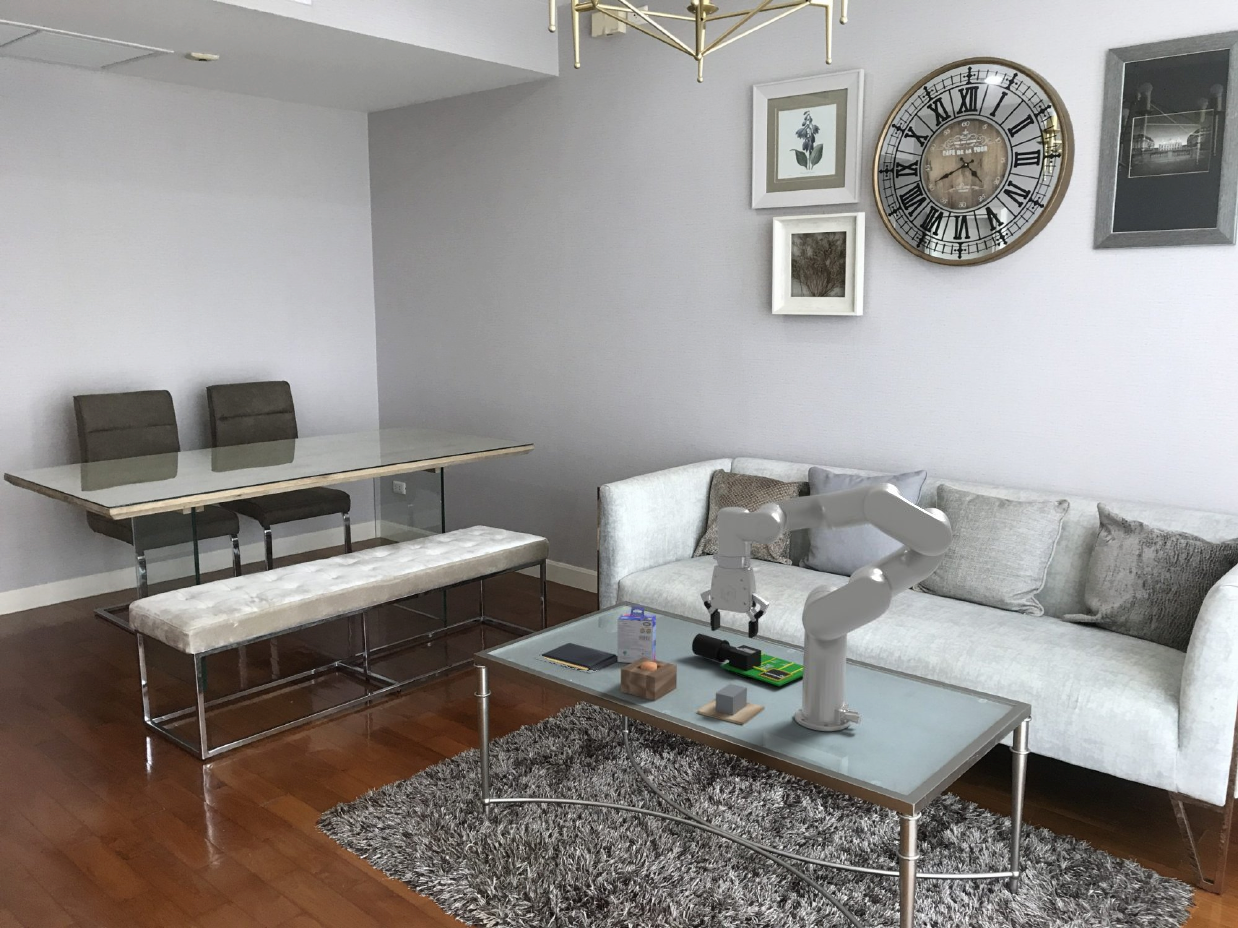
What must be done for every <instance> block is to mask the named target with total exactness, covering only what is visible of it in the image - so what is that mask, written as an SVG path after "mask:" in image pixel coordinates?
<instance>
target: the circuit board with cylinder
mask: <svg viewBox="0 0 1238 928" xmlns="http://www.w3.org/2000/svg"><path fill="white" fill-rule="evenodd" d="M691 650H692V653H693V654H694V655H696V656H699V657H702V658H705V659H707V660H711V661H714V662H717V663H724V664H721V665H720V668H722V669H725V670H727V671H728V672H729V673H732V674H734V675H738V676H740V677H744V678H746V679H747V678H749V677H750V678H753V679H756V680H759V681H761V682H765V683H768V684H771V685H774V686H777V687H781V686H783V685H785V684H787V683H790V682H792V681H794V680H797V679H799V678H801V677H803V664H802V665H801V664H798V663H795V662H792V661H788V660H785V659H782V658H779V657H777V656H772V655H769V654H766V653H762V649H759V648H756V647H751V646H748V645H746V644H743V645H740V646H737V647H736V646H733V645H731V644H730V642H729V640H727V639H723V638H720V637H716V636H713V635H711V634H710V635H709V634H707V633H703V632H700V633H697V634H696V635H695V636H694V637H693V639H692V643H691ZM726 661H728V662H727V663H725V662H726Z"/></svg>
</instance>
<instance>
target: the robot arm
mask: <svg viewBox="0 0 1238 928" xmlns="http://www.w3.org/2000/svg"><path fill="white" fill-rule="evenodd" d="M716 517H717V523H716V524H717V553H713V554H712V559H713V560H715V561H716V564H715V565H714V567H713V570H712V577H711V584H710V589H708V590H705V591H703V592H701V593H700V594H699V595H700V599H701V600H702V601H701V602H702V603H703V606H704V607H705V608H706V610H707V612H708V614H709V618H710V620H709V621H710V623H709V624H710V627H711V628H710V629H711V631H712V632H716V631H717V630H719V629H720V628H721V612H720V611H721V610H722V611H727V612H733V613H739V614H746V615H747V616H748V619H750V620H748V622H747V623H748V631H747V632H748V638H749V639H753V638H754V637H756V636H757V635H758V633H759V619H761V618H762V617H763V616H764V615H765V614H766V612H767V610H768V608H769V607H770V603H769V602H768V601H767V600H766V599H764V598H763V597H761V596H760V595H759V594H757V584H756V575H755V572H754V571H755V570H754V567H753V566H751V543H755V544H762V545H769V544H770V545H771V544H773V543H775V542H777V541H778V540H780V538H781V536H782V534H783V533H784V532H785V533H786V532H791V531H797V530H801V529H802V530H803V529H811V528H812V529H814V528H815V529H822V531H823V530H824V531H827V532H828V531H829V532H836V531H837V532H838V531H840V530H847V529H850V528H851V529H852V528H856V527H861V526H866V525H867V526H868V525H871V526H873V527H874V528H875V529H877V530H878V531H880V532H881V533H883V534H885V535H887V536H889V537H890V538H892V539H893V540H895V541H896V542H899V543H901V545H902V546H900V547H899V548H897V549H896V550H894V551H892V552H890V553H889V554H888V555H884V556H883V557H881V558H879V559H877V560H875V561H873V562H871V563H868V564H866V565H864V566H862V567H860V568H858V569H856V570H855V571H853V573H852V574H851V575H850V577H849V579H848V582H847V583H846V584H844V585H842V586H840V587H837V586H835V585H832V584H821V585H818V586H816V587H814V588H813V589H812V590H811V591H810V592H809V593H808V595H807V597H806V599H805V601H804V605H803V609H802V614H801V615H802V616H801V621H802V626H803V629H804V634H803V636H804V637H803V658H802V659H803V664H802V666H803V676H802V692H801V693H802V695H801V696H802V698H801V700H802V701H801V707H800V708H798V709H797V710H795V713H794V719H795V721H796V722H797V724H799V725H801V726H802V727H805V728H808V729H810V730H815V731H821V732H835V731H842V730H844V729H846V728H848V727H849V726H850V725H851V724H852V723H853V724H858V725H860V724H861V722H862V715H861V713H860V711H858V710H852V709H850V708H849V704H850V703H849V702H848V701H845V700H846V699H845V697H846V674H847V673H846V672H847V671H846V668H847V650H848V633H849V634H850V633H851V632H853V631H855V630H857V629H860V628H862V627H864V626H866V625H868V624H869V623H872V622H874V621H876V620H878V619H879V618H880V617H882V616H883V615H884V614H885V613H886V612H887V611H888V610H889V608H890V606H891V603H892V601H893V598H894V597H896V596H897V595H899V594H901V593H903V592H905V591H907V590H909V589H910V588H912V587H914V586H916V585H918V584H919V583H921V582H922V581H924V580H926V579H927V578H928V577H930V576H931V575H933V573H934V572H935V571H936V570H937V569H938V568H939V567H940V564H942V562H943V560H944V558H945V556H946V554H947V551H948V550H949V548H950V547H951V545H952V542H953V535H954V534H953V530H952V525H951V523H950V522H951V521H950V519H949V517H948V516H947V515H946V513H944V512H943V511H942V510H940V509H938V508H936V507H935V508H934V507H926V508H924V509H922V508H920V507H919V506H917V505H915V504H913V503H911V502H910V501H908V500H907V499H906V498H904V497H903V496H902V493H901V491H900V490H899V489H898V487H896V486H895V485H894V484H892V483H889V482H877V483H872V484H867V485H862V486H856V487H852V488H847V489H843V490H838V491H832V492H828V493H820V494H819V493H818V494H814V495H805V496H798V497H797V496H796V497H792V498H787V499H781V500H777V501H772V502H768V503H766V504H763V505H761V506H760V507H759V508H758V509H757V510H755V511H754V512H753V511H751V512H750V510H749V509H747V508H745V507H742V506H741V507H739V506H729V507H728V506H726V507H722V508H721V509H719V510H718V512H717V516H716ZM757 605H759V607H760V608H759V610H757V608H756V607H757ZM719 610H720V611H719Z"/></svg>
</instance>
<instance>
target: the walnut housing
mask: <svg viewBox="0 0 1238 928" xmlns="http://www.w3.org/2000/svg"><path fill="white" fill-rule="evenodd" d="M643 662H654V663H656V664H657V669H656V670H654V671H652V672H651V671H647V670H642V669H641V663H643ZM677 667H678V666H677V664H673V663H670V662H665V661H661V660H657V659H655V660H653V659H649V658H644V657H642V658H641V659H639V660H637V661H635V662H633V663H629V664H627V665H625V666H624V667H622V668H620V692H621V693H623V692H624V693H623V694H626V693H629V694H628V695H630V694H633V695H632V696H634V695H635V697H638V696H639V697H638V698H642V697H644V698H643V699H646V698H647V700H649V699H650V701H654V702H656V701H658V700H659V699H661V698H662V697H665V695H667V694H669V693H671V692H672V691H674V690H676V689H677V688H678V687H677V676H678V675H677V669H678V668H677Z"/></svg>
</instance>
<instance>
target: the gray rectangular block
mask: <svg viewBox="0 0 1238 928" xmlns="http://www.w3.org/2000/svg"><path fill="white" fill-rule="evenodd" d="M747 695H748V688H747V686H742V685H741V686H740V685H737V684H732V683H729V684H727V685H726V686H724V687H723V688H721V689H720V690H718V691H717V692H715V698H716V712H720V713H724V714H728V715H732V716H733V715H735V714H736V713H737V712H739V711H740V710H741V709H743V708H744V707H746V706H747V700H748V699H747V697H748V696H747Z"/></svg>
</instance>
